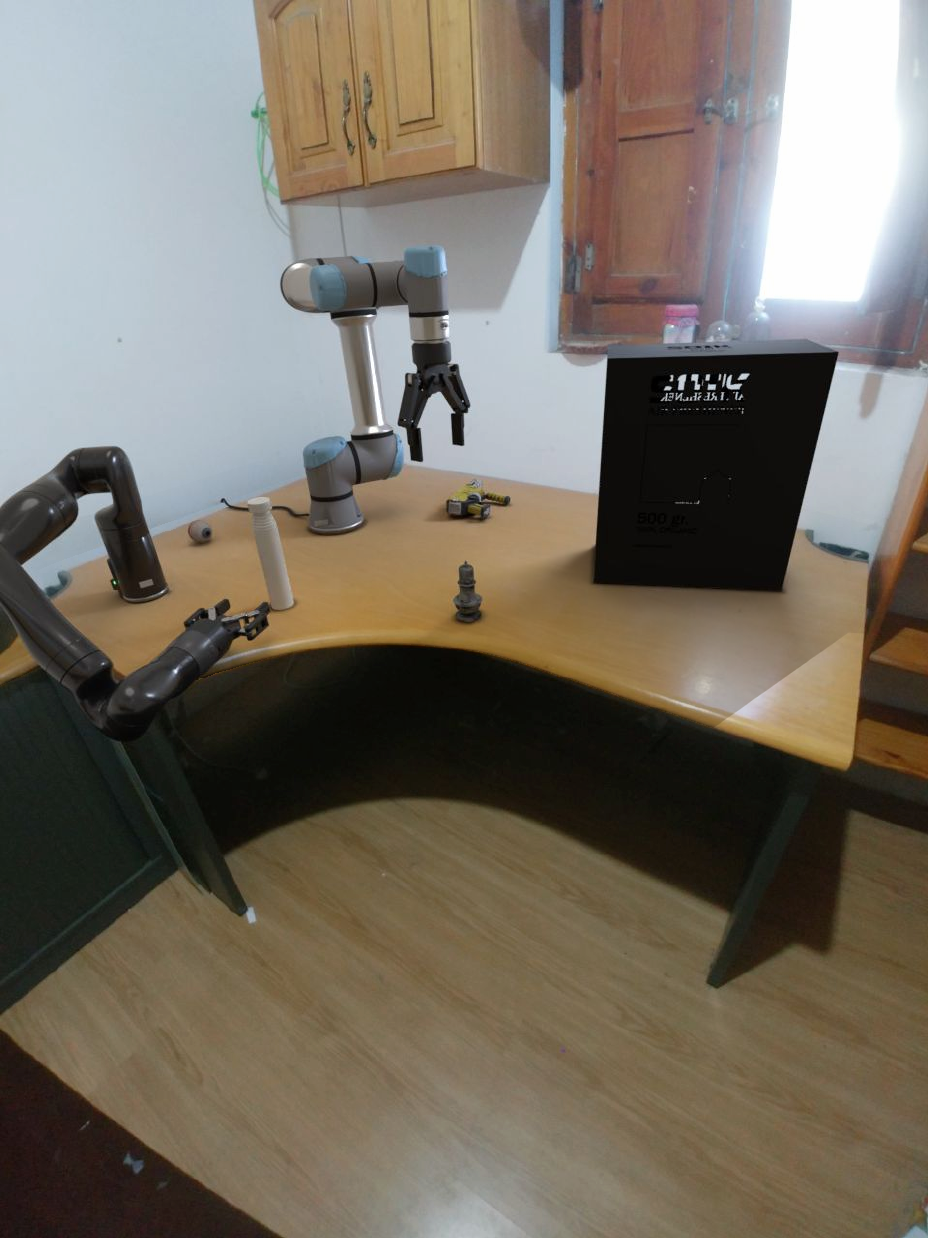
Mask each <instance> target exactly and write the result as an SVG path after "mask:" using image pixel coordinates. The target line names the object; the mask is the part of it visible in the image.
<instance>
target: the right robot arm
mask: <svg viewBox="0 0 928 1238" xmlns="http://www.w3.org/2000/svg"><path fill="white" fill-rule="evenodd" d="M448 285H449V284H448V266H447V257H446V251H445V249H444V247H442V246H441V245H421V246H420V245H419V246H409V247H406V248H405V249H404V251H403V259H402V260H393V261H377V262H376V261H375V262H374V261H372V260H371V259H369V258H368V257H365V256H357V255H356V256H354V255H348V256H347V255H346V256H332V257H316V258H314V257H313V258H312V257H310V258H304V259H300V260H297V261H295V262H293V263H291V264H289V265H288V266H287V267H286V268H285V269H284V270H283V272H282V273H281V276H280V280H279V289H280V293H281V295H282V297H283V299H284V301H285V302H286V303H287V304H288V305H289V306H290V307H292V308H293V309H295V310H297V311H300V312H302V313H303V312H304V313H309V314H328V313H329V315H330V316H329V317H330V321H331V322H332V323H333V324H334V325H335V326H336V327H337V328H338V332H339V337H340V345H341V351H342V357H343V362H344V369H345V375H346V381H347V387H348V393H349V399H350V405H351V412H352V417H353V424H354V426H353V428H352V429H351V431H350V433H349V434H350V440H346V438H345V437H343V436H341V435H334V436H327V437H323V438H319V439H317V440H314V441H312V442H310V443H308V444H307V445H305V447H304V448H303V450H302V457H303V458H302V460H303V468H304V471H305V476H306V481H307V486H308V492H309V498H310V507H309V512H308V513H296V512H294V511H293V510H292V509H291V508H290V507H288V506H284V505H272V509H271V510H274V509H281V510H283V509H284V510H287V511H288V512H289V513H290V514H291V515H292V516H293V517H297V518H298V517H308V521H307V522H308V523H307V524H308V528H309V529H308V530H310V531H311V532H312V533H314V534H317V535H323V536H324V535H325V536H327V535H329V536H331V535H339V534H340V535H341V534H345V533H350V532H353V531H355V530H357V529H359V528H361V527H362V526H363V525H364V523H365V519H364V514H363V512H362V510H361V508H360V505H359V504H358V501H357V500H356V498H355V495H354V489H353V486H356V485H362V484H367V483H371V482H372V483H373V482H377V481H386V480H388V479H392V478H396V477H398V476H399V475H400V473H401V472H402V470H403V467H404V463H405V450H404V444H403V442H402V438H401V436H400V435H399V434H398V433H396V432H394V427H393V426H392V425H390V424H389V423H388V422H387V417H386V410H385V403H384V402H385V401H384V396H383V389H382V382H381V374H380V368H379V361H378V354H377V348H376V340H375V332H374V326H373V325H374V322H375V321H376V319H377V318H378V311H377V310H379V309H380V308H384V307H397V306H407V308H408V324H409V335H410V337H409V338H410V340H411V341H412V342H413V343H412V344H411V357H412V363H413V364H414V365H415V367H416V372H406V373H405V374H404V389H403V393H402V394H403V395H402V398H401V403H400V408H399V413H398V419H397V424H396V425H397V426H398V427H402V428H404V429H405V430H406V441H407V445H408V446H409V456H410V461H412V462H418V463H422V462H424V454H423V452H424V451H423V442H422V441H423V439H422V429H421V427H418V426H419V424H420V421H421V418H422V416H423V413H424V411H425V408H426V406H427V402H429V401H428V400H429V399H430V398H431V397H432V396H433V395H435V394H437V393H440V394H441V395H442V396H443V398H444V400H445V401H446V402H447V404H448V406H449V407H450V409H451V410H452V411H453V412H451V413H450V425H451V439H452V440H451V443H452V445H453V446H457V447H458V446H459V447H464V446H465V414H468V413H469V409H470V408H471V402H470V398H469V397H468V393H467V391H466V388H465V385H464V382H463V379H462V377H461V373H460V372H461V371H460V365H459V364H458V363H451V362H452V346H451V342H450V341H449V340H448V339H450V337H451V333H450V331H451V330H450V316H449V315H450V313H449V291H448V287H449V286H448ZM220 503H224V504H225V505H226V506H227V507H228V508H230V509H234V510H241V511H249V509H248V507H243V506H235V505H231V504H230V503H229V502H228V501H227V499H225V498H224V497H222V498H221V499H220Z"/></svg>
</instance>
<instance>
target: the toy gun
mask: <svg viewBox="0 0 928 1238" xmlns="http://www.w3.org/2000/svg"><path fill="white" fill-rule="evenodd" d="M482 486H483V480H481V479H478V480H477V479H476V478H474V479H472V480H471V481H470V482H469V483H466V484H465V485H463V486H462V487H461V488H460V489H458V490H457V491H456V492H455V493H454V494H452V495H451V496H450V497H449V498H448V499H446V501H445V512H446V513H447V514H450V516H454V517H456V516H467V515H477V516H479V517H480V519H481V520H484V519H486V518H487V517H489V516H490V513H491V504H490V503H485V504H484V502H483V501H485V500H488V501H491V502H496V503H499V504H501V503H502V504H504V505H509V504H510V503H511V497H510V495H503V494H500V493H495V492H492V491H487V493H486V494H485V491H484V490H483V488H481V487H482Z"/></svg>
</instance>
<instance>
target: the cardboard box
mask: <svg viewBox="0 0 928 1238" xmlns="http://www.w3.org/2000/svg"><path fill="white" fill-rule="evenodd" d="M839 353H840V352H839V351H837V350H835V349H832V348H830V347H828V346H825V345H823V344H819V343H817V342H815V341H812V340H810V339H808V338H795V339H791V338H790V339H789V338H787V339H765V340H764V339H761V340H759V339H758V340H732V341H730V340H729V341H728V340H727V341H698V342H697V341H696V342H669V343H639V344H638V343H636V344H635V343H634V344H632V343H631V344H609V345H607V355H606V356H607V357H606V371H605V384H604V400H603V401H604V403H603V418H602V432H601V433H602V436H601V450H600V453H601V454H600V464H599V465H600V466H599V467H600V468H599V481H598V482H599V483H598V484H599V485H598V498H597V515H596V530H595V545H594V546H595V548H594V565H593V583H594V584H614V585H615V584H616V585H618V584H619V585H637V586H639V585H641V586H658V587H659V586H663V587H681V588H682V587H684V588H703V589H705V588H707V589H727V590H728V589H729V590H747V591H767V592H768V591H769V592H771V591H772V592H782V591H783V587H784V583H785V578H786V575H787V572H788V571H787V570H788V567H789V562H790V558H791V554H792V549H793V545H794V542H795V537H796V532H797V528H798V525H799V520H800V516H801V512H802V509H803V508H802V507H803V503H804V499H805V495H806V490H807V487H808V482H809V478H810V476H811V475H810V474H811V470H812V467H813V462H814V457H815V454H816V449H817V445H818V442H819V436H820V432H821V428H822V424H823V420H824V416H825V411H826V408H827V404H828V399H829V395H830V391H831V387H832V382H833V379H834V374H835V370H836V366H837V362H838V358H839ZM742 374H743V375H747V377H746V378H744V379H739V378H740V377H741V376H742ZM693 375H695V376H696V375H697V382H696V380H695V379H693V380H692V377H693ZM707 375H709V378H708V379H707ZM682 376H685V380H684V382H683V389H679V385H680V379H679V378H680V377H682ZM730 376H731V377H730ZM729 377H730V383H729V385H730V386H735V385H740V386H739V388H729V387H728V379H729ZM706 379H707V380H706ZM696 385H699V389H695V388H696ZM713 385H714V386H715V387H714V389H709V386H713ZM667 387H670V389H666V388H667Z"/></svg>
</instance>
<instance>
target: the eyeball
mask: <svg viewBox="0 0 928 1238" xmlns="http://www.w3.org/2000/svg"><path fill="white" fill-rule="evenodd" d="M187 534H188V537H189V538H190V539H191V540H192V541H193V542H196V543H198V544H199V543H201V544H202V543H207V542H208V541H209V540H211V538H212V536H213V527H212V526H211V524H210V523H209V522H207V521H205V520H201V519H197V520H193V521H192V522H191V523H190V524H189V525H188V527H187Z"/></svg>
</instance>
